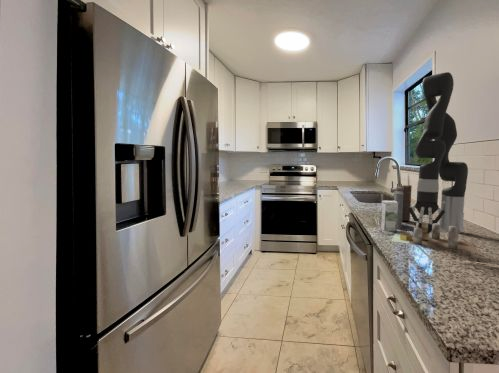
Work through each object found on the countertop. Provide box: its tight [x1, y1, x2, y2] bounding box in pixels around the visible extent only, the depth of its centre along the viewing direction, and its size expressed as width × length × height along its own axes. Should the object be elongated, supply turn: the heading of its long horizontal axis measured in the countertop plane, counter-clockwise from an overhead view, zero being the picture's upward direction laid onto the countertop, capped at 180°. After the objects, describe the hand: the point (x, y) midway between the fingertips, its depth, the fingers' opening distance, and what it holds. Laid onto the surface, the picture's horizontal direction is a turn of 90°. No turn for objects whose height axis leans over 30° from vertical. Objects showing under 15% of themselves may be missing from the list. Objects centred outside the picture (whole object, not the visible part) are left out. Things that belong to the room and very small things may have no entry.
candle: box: [397, 184, 412, 222], centre depth 180 cm, size 8×7×20 cm
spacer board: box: [408, 222, 478, 253], centre depth 130 cm, size 22×16×7 cm
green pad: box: [390, 233, 410, 245], centre depth 138 cm, size 6×16×1 cm, turn 149°
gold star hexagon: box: [399, 232, 412, 240], centre depth 136 cm, size 5×4×2 cm
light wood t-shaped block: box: [422, 221, 430, 241], centre depth 131 cm, size 3×7×10 cm
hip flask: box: [393, 186, 404, 230], centre depth 167 cm, size 16×4×20 cm, turn 159°
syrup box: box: [380, 200, 398, 232], centre depth 156 cm, size 6×6×14 cm
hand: (424, 232), depth 133 cm, fingers closed
